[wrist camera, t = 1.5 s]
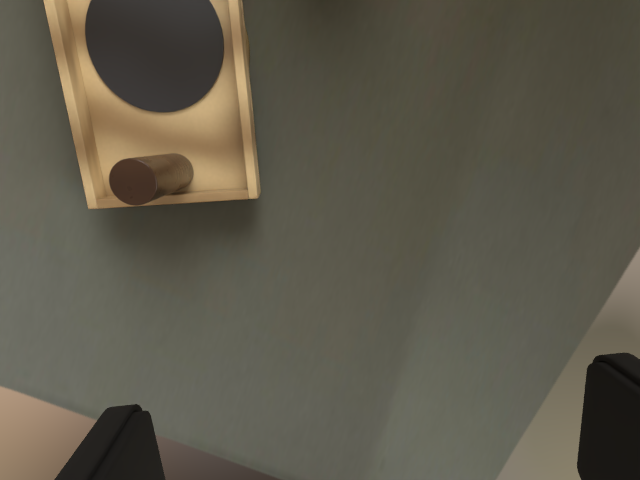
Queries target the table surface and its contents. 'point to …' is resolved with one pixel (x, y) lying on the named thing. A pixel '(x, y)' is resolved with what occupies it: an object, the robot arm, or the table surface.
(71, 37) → the tray
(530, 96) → the table surface
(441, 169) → the table surface
